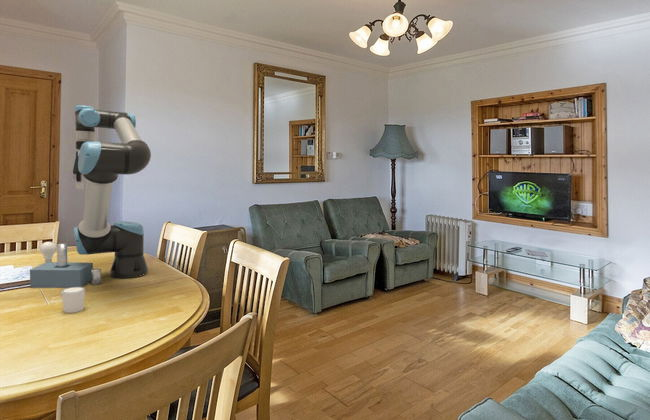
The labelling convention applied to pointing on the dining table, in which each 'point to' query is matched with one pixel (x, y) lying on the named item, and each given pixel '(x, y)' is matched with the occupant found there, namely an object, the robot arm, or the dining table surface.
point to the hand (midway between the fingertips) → (86, 188)
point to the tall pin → (62, 255)
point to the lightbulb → (48, 250)
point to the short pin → (96, 276)
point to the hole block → (60, 275)
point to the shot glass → (73, 299)
